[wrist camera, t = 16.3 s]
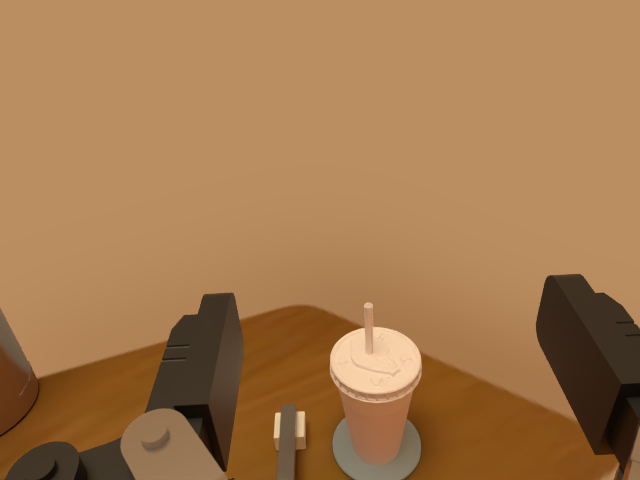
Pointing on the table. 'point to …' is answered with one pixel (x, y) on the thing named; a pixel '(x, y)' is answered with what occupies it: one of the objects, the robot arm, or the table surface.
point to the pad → (377, 476)
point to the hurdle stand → (300, 431)
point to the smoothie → (375, 387)
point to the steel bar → (287, 443)
